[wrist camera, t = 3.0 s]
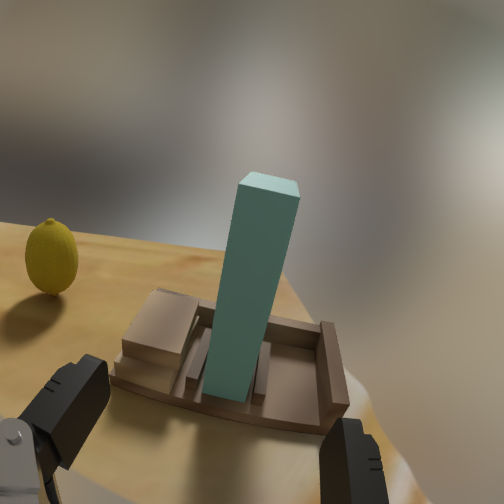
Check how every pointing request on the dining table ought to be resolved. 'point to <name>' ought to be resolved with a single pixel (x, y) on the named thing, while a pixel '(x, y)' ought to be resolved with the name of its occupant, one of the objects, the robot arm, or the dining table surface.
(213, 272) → the dining table surface
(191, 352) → the rack
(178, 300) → the offcut upper
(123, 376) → the offcut lower
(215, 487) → the dining table surface
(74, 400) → the robot arm
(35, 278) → the lemon
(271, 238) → the teal rectangular block
